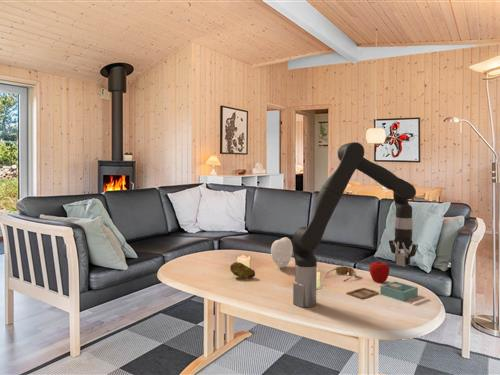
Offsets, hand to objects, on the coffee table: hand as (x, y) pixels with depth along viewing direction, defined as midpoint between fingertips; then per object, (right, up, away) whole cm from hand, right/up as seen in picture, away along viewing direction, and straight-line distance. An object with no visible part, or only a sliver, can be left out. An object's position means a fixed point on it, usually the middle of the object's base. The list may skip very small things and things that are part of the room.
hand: (402, 263), depth 179 cm
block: (0, 0, 0) cm, 0 cm away
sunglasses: (-22, -13, +28) cm, 38 cm away
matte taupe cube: (-4, -14, -2) cm, 15 cm away
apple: (-4, -14, +20) cm, 25 cm away
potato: (-74, -13, +27) cm, 80 cm away
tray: (-18, -15, +1) cm, 23 cm away
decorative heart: (-52, -12, +47) cm, 71 cm away
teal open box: (-2, -15, -1) cm, 15 cm away
